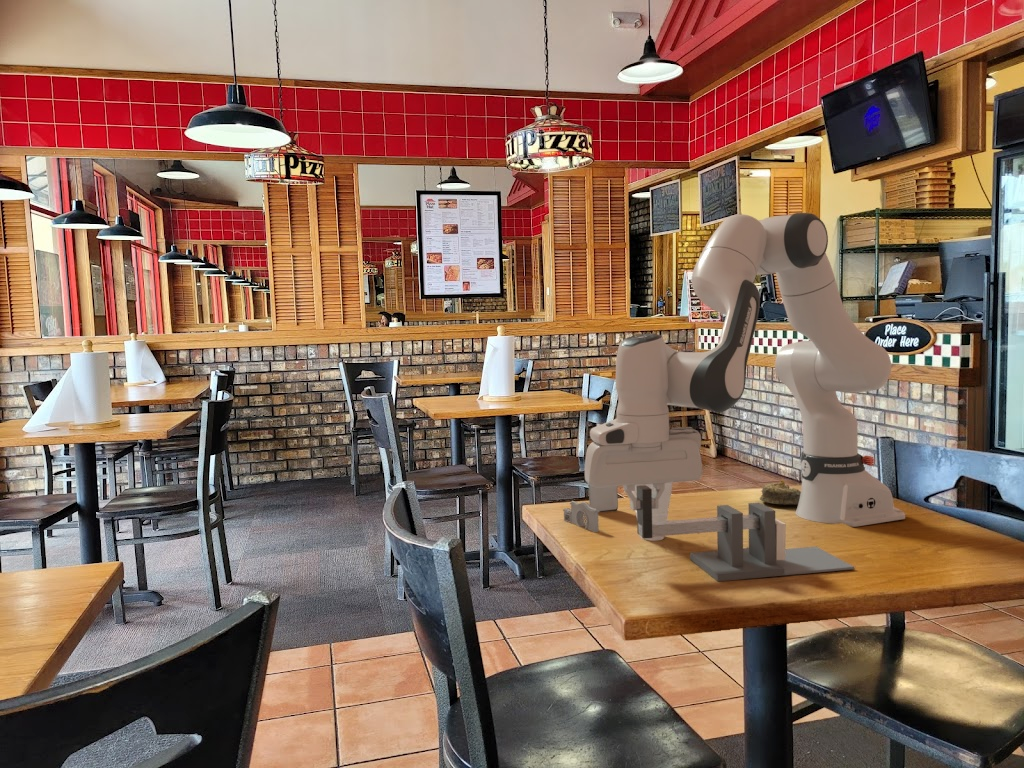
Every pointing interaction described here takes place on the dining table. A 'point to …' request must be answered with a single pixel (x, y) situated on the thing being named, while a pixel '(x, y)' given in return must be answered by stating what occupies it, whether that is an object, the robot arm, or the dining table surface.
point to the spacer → (780, 539)
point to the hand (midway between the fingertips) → (644, 508)
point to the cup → (663, 505)
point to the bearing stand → (732, 555)
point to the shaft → (681, 526)
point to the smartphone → (604, 498)
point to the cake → (780, 494)
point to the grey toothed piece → (582, 510)
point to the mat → (810, 561)
